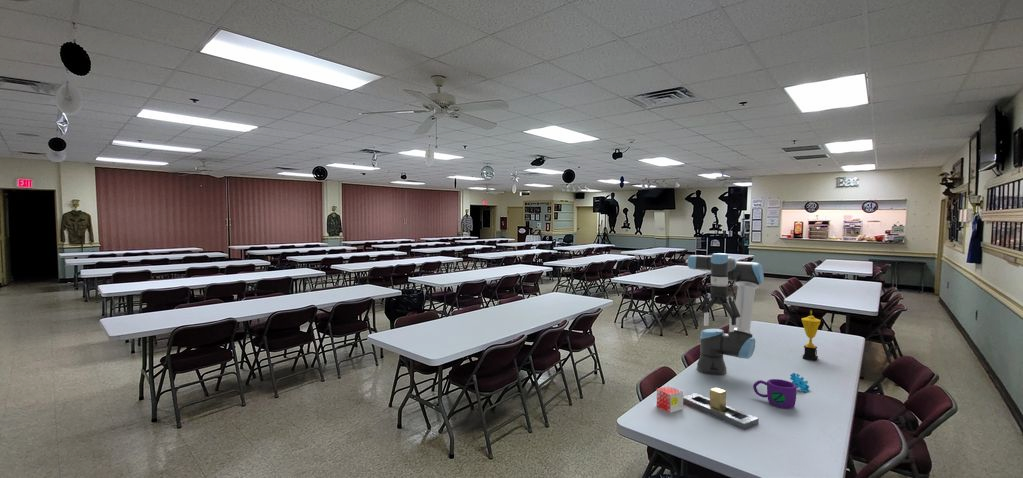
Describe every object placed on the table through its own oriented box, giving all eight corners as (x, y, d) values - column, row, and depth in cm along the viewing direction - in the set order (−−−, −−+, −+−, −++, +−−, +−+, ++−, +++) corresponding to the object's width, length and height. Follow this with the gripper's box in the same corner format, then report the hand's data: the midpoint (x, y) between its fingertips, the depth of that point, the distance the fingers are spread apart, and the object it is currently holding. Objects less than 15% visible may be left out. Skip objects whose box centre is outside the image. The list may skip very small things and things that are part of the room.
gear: (800, 391, 203) (788, 372, 210) (791, 396, 207) (779, 377, 214) (816, 391, 207) (803, 372, 214) (806, 396, 211) (794, 377, 218)
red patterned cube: (670, 412, 184) (670, 395, 184) (656, 406, 191) (656, 388, 191) (683, 409, 188) (683, 391, 188) (669, 402, 195) (669, 385, 195)
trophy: (818, 364, 248) (819, 313, 247) (798, 360, 255) (799, 311, 254) (821, 356, 263) (822, 308, 262) (802, 353, 269) (803, 306, 268)
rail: (681, 402, 195) (681, 397, 195) (695, 398, 199) (695, 393, 199) (744, 429, 169) (744, 423, 168) (758, 424, 173) (758, 418, 173)
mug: (798, 404, 192) (799, 383, 192) (793, 412, 184) (793, 390, 184) (756, 394, 204) (756, 373, 204) (749, 400, 196) (749, 379, 196)
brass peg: (709, 411, 185) (710, 389, 185) (716, 409, 187) (716, 387, 187) (719, 415, 181) (719, 393, 181) (725, 413, 183) (726, 390, 183)
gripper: (692, 282, 213) (691, 324, 214) (739, 289, 192) (738, 335, 192) (701, 281, 217) (701, 322, 218) (748, 287, 195) (748, 333, 196)
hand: (718, 328), depth 205 cm, fingers open, 13 cm apart
